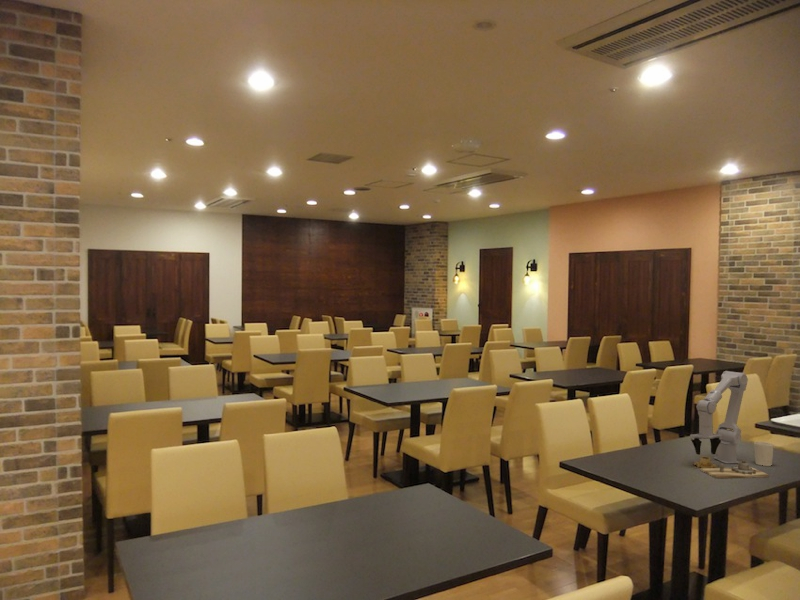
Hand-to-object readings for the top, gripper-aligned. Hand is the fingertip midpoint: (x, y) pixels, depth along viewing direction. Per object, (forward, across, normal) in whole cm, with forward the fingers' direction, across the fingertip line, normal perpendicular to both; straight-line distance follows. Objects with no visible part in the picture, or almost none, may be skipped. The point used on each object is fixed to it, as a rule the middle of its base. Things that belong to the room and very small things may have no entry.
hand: (705, 454), depth 276 cm
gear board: (+6, +6, -12) cm, 15 cm away
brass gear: (+6, 0, 0) cm, 6 cm away
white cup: (+6, +30, +1) cm, 31 cm away
